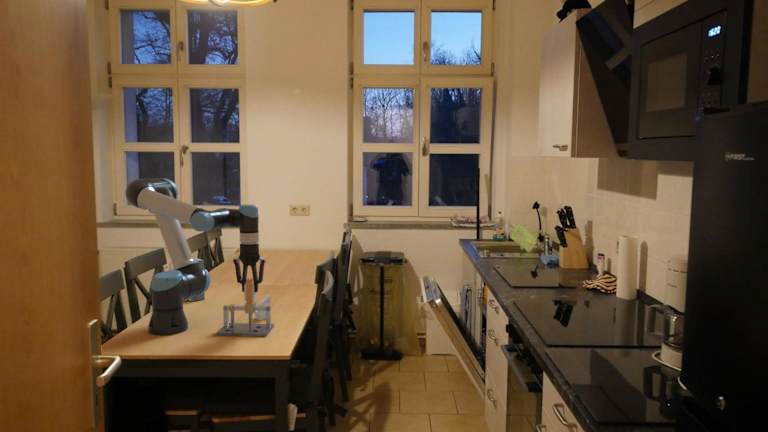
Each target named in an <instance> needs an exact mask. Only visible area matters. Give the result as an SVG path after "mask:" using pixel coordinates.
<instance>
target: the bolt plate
mask: <svg viewBox="0 0 768 432" xmlns="http://www.w3.org/2000/svg"><path fill="white" fill-rule="evenodd" d="M234 323H235V326H234V327H231V322H229V326H228V327H224V325H223V326H222V327H220V328H219V330H217V331H216V332H215V336H218V337H219V336H220V337H221V336H222V337H223V336H224V337H257V338H258V337H260V338H261V337H265V338H266V337H268V335H269V334H270V333H271V331H273V329H274V327H275V324H274V323H271V327H270V328H266V323H252V326H249V322H247V323H243V322H242V323H241V322H239V323H238V322H234Z"/></svg>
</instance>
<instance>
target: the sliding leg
mask: <svg viewBox="0 0 768 432" xmlns="http://www.w3.org/2000/svg"><path fill="white" fill-rule="evenodd" d="M253 284H254V282H253V277H252V278H251V277H250V278H248V277H247V279H246V302H245V304H244V306H245V311H244V314H248V323H249V326H252V324H253V314H255V312H256V311H254V306H257V304H256V302H255V300H254V301H252V285H253Z"/></svg>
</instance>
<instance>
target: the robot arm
mask: <svg viewBox="0 0 768 432" xmlns="http://www.w3.org/2000/svg"><path fill="white" fill-rule="evenodd" d="M124 194H125V198H126V200H127V202H128V203H129V204H130V205H132V206H133V207H136V208H138V209H141V210H144V211H146V210H148V212H149V214H152V215H153V216H154V219H155V220H156V223H157V225H158V228H159V232H160V235H161V236H162V240H163V242H164V244H165V247H166V250H167V253H168V255H169V258H170V260H171V263H172V269H171V270H165V271H164V270H163V271H161V272H158V273H156V274H154V275H153V277H152V278H151V286H150V288H151V306H152V307H151V309H152V310H151V311H152V313H151V315H150V319H149V322H148V326H147V327H148V328H147V329H148V333H149V334H152V335H156V336H157V335H158V336H165V335H167V336H168V335H174V334H178V333H183V332H186V330H188V328H189V322H188V319H187V316H186V313H185V311H184V301H186V300H185V299H188V298H191V297H194V296H198V295H200V294H202V293H204V292H206V291H208V289H209V287H210V284H211V275H210V273H209V272H208V271H209V270H207V269H205V267H204V268H202V267H200V265H199V262H198V261H196V260H194V259H193V258H194V257H193V255H192V252H191V249H190V246H189V244H188V240H187V239H186V238H187V237H186V236H185V233H184V230H183V228H182V225H181V222H182V223H185V224H187V225H190V226H191V227H192V228H193V229H194V230H195V231H196V232H204V233H205V232H209V231H213V230H214V231H215V230H219V229H227V228H238V229H239V243H240V244H239V255H238V257H235V258H233V259H232V262H233V264H234V268H235V275H236V276H235V277H236V282H237V284H241V292H243V294H244V301H246V279H248V270H249V267H250V268H251V274H252V279H253V282H254V284H253V285H252V301H254V302H255V301H256V299H257V293H258V291H259V284H262V283H263V281H264V273H265V272H264V271H265V264H266V262H267V259H266V258H263V257H261V254H260V243H259V242H260V236H259V235H260V234H259V233H260V232H259V216H260V214H259V207H258V205H256V204H247V203H246V204H240V205H239V207H238V208H237V209H236V208H226V207H225V208H224V207H223V208H217V209H215V210H207V209H204V208H201V207H199V206H196V205H194V204H190V203H187V202H185V201H182V200H180V199H178V195H179V191H178V187H177V185H176V184H175V183H174V181H172V180H171V179H168V178H164V177H163V178H162V177H156V178H137V179H134V180H133V181H130V183H129V184H128V185H127V186H126V188H125V193H124ZM240 262H241V263H242V272H241V265H240ZM258 262H259V271H258V270H257V263H258Z"/></svg>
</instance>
